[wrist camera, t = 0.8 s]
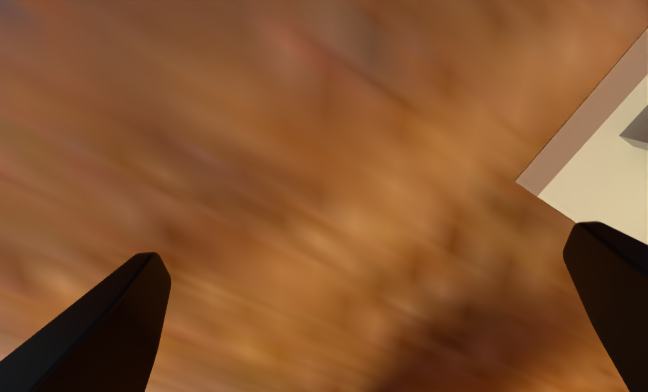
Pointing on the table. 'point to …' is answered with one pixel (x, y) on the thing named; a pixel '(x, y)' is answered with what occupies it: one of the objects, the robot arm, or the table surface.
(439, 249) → the table surface
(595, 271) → the robot arm
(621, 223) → the block
